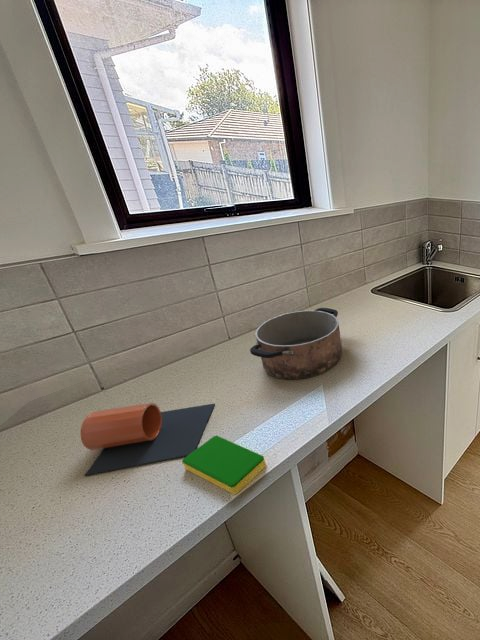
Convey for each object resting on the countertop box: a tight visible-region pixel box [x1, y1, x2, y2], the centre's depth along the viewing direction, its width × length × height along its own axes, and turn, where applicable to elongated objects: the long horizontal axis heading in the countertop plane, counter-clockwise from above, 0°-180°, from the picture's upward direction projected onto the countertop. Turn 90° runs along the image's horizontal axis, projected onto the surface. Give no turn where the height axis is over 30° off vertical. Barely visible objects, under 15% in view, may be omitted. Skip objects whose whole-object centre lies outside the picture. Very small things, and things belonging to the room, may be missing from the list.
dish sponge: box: [181, 435, 267, 495], centre depth 64 cm, size 7×14×2 cm, turn 66°
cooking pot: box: [249, 307, 343, 381], centre depth 98 cm, size 30×22×11 cm
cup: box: [80, 402, 162, 451], centre depth 69 cm, size 8×8×10 cm
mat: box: [84, 403, 216, 477], centre depth 72 cm, size 18×16×1 cm
